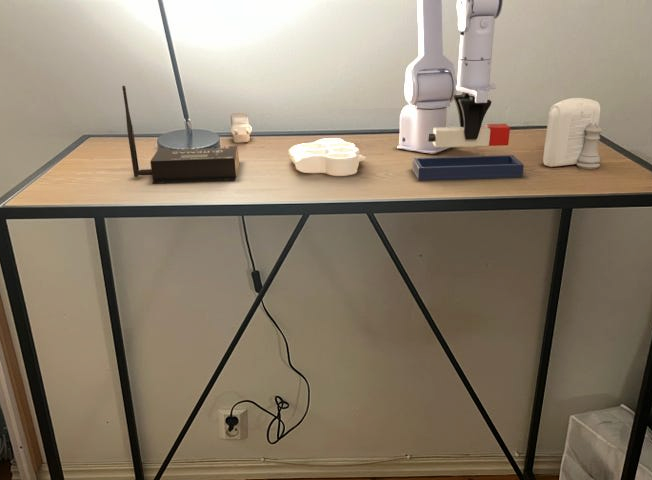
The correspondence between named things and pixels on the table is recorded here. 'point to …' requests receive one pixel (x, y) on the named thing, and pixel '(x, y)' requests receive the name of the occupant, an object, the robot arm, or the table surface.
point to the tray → (467, 167)
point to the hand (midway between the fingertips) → (469, 137)
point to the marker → (456, 138)
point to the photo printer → (568, 130)
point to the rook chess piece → (590, 148)
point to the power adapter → (240, 127)
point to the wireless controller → (185, 161)
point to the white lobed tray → (326, 157)
